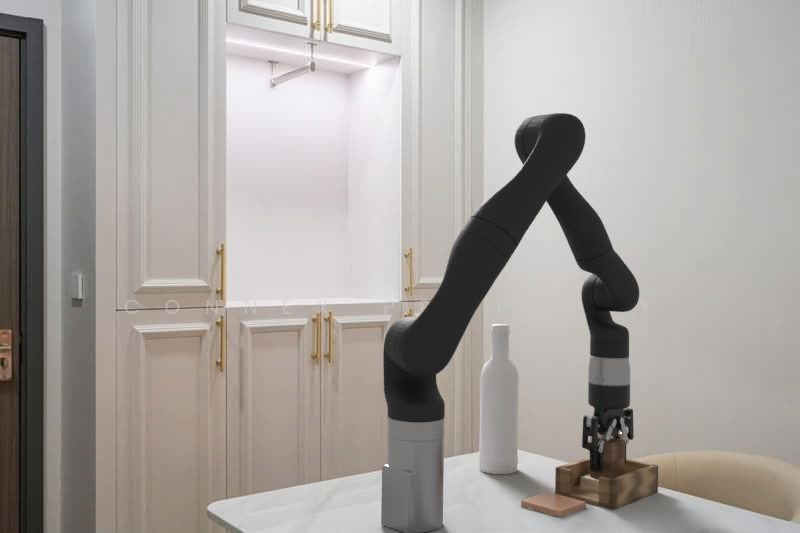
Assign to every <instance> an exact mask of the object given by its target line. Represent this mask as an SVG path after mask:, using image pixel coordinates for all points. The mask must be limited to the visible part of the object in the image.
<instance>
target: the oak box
mask: <svg viewBox="0 0 800 533" xmlns="http://www.w3.org/2000/svg"><path fill="white" fill-rule="evenodd" d="M554 480H555V485H554V486H555V487H554V488H555V489H554V490H555V491H554V492H555V493H554V494H558V495H562V496H565V497H569V498H573V499H577V500H581V501H585V502H586V504H590V505H592V506H593V505H594V506H598V507H602V508H604V509H609V510H613V511H615V510H617V509H619V508H623V507H625V506H627V505H630V504H632V503H635V502H638V501H639V500H642V499H645V498H647V497H649V496H651V495H655V494H656V493H658V492H659V465H658V464H657V465H656V464H652V463H647V462H644V461H643V462H642V461H638V460H633V459H629V458H626V464H625V472H624V475H622V476H619V477H616V478H613V479H611V478H606V477H599V479H597V478H593V477H590V456H589V457H586V458H582V459H579V460H576V461H573V462H569V463H566V464H563V465H559V466H555V478H554Z"/></svg>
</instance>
